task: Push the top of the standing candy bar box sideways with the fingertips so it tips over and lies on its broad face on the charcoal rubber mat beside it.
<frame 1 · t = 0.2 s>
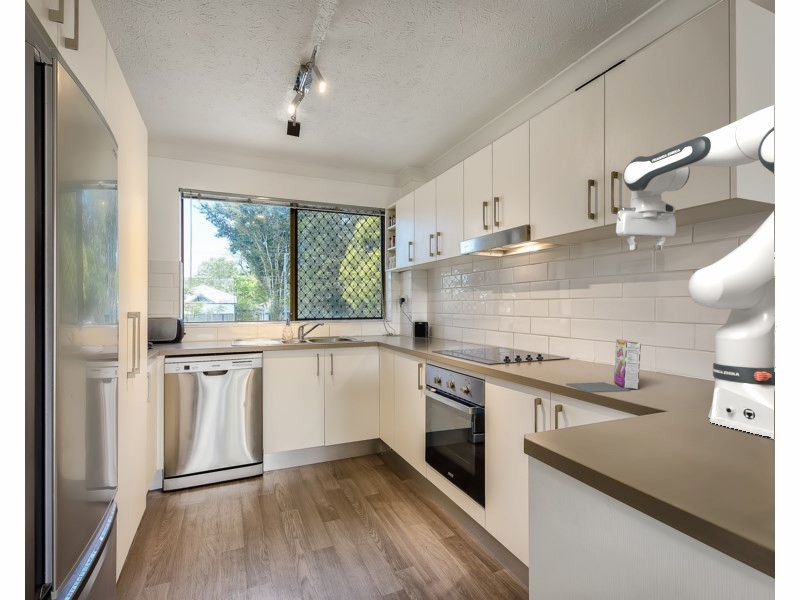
hand: (646, 250, 129), 47 cm above the counter, fingers open, 8 cm apart
candy bar box: (625, 386, 142), on the counter, touching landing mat
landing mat: (596, 387, 141), on the counter
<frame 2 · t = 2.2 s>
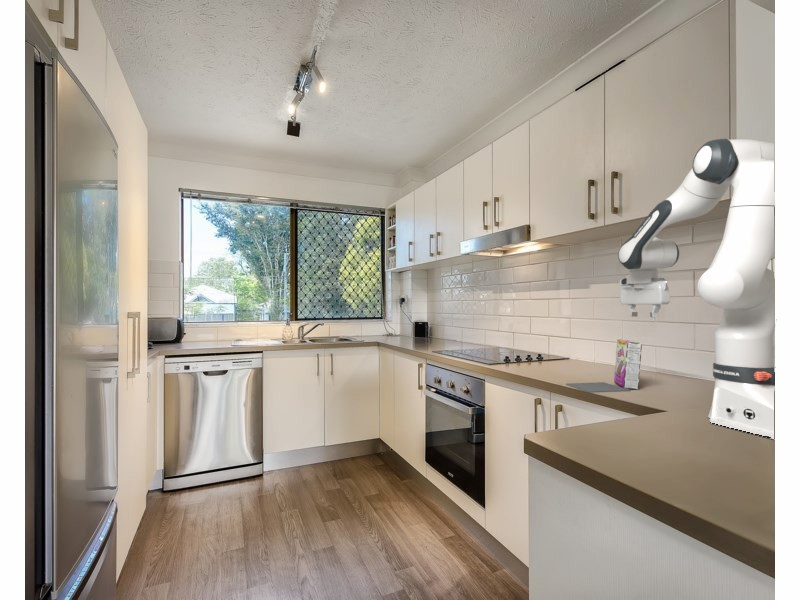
hand: (643, 317, 144), 25 cm above the counter, fingers open, 8 cm apart
nothing on the counter moved.
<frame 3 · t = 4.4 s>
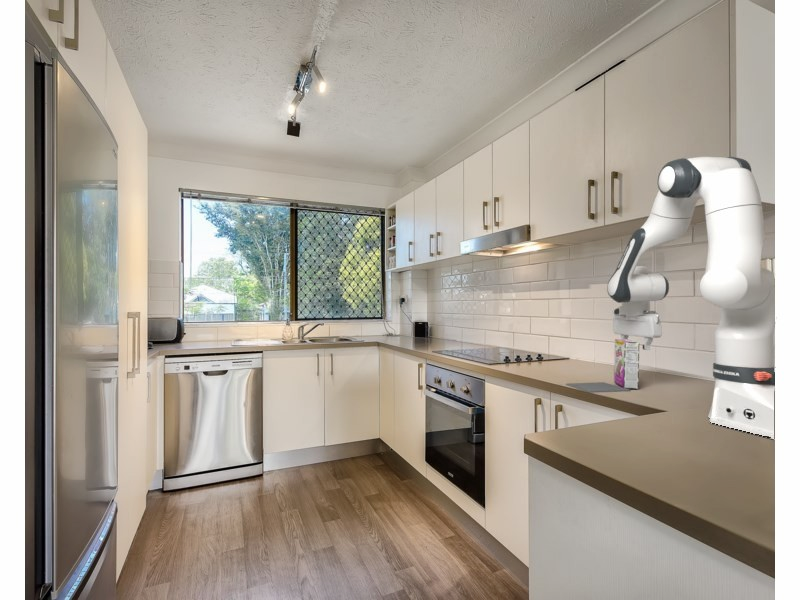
hand: (636, 348, 144), 14 cm above the counter, fingers open, 8 cm apart
candy bar box: (625, 386, 142), on the counter, touching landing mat
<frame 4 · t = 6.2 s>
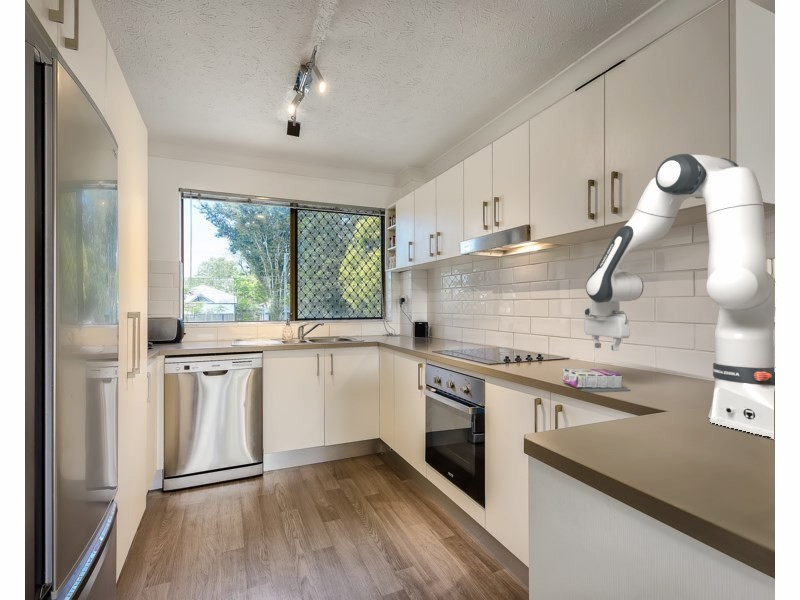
hand: (606, 349, 142), 14 cm above the counter, fingers open, 8 cm apart
candy bar box: (614, 378, 143), point 3 cm above the counter, touching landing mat
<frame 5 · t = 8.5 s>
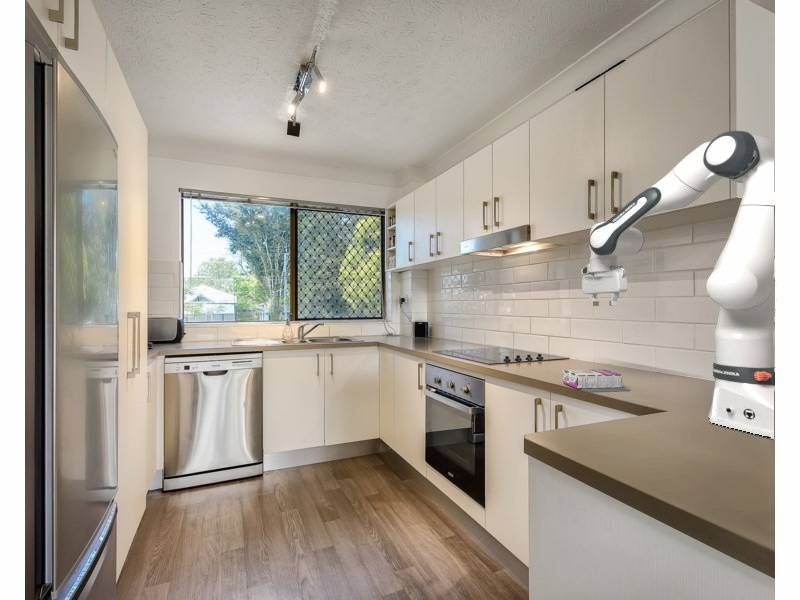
hand: (604, 305, 142), 29 cm above the counter, fingers open, 8 cm apart
nothing on the counter moved.
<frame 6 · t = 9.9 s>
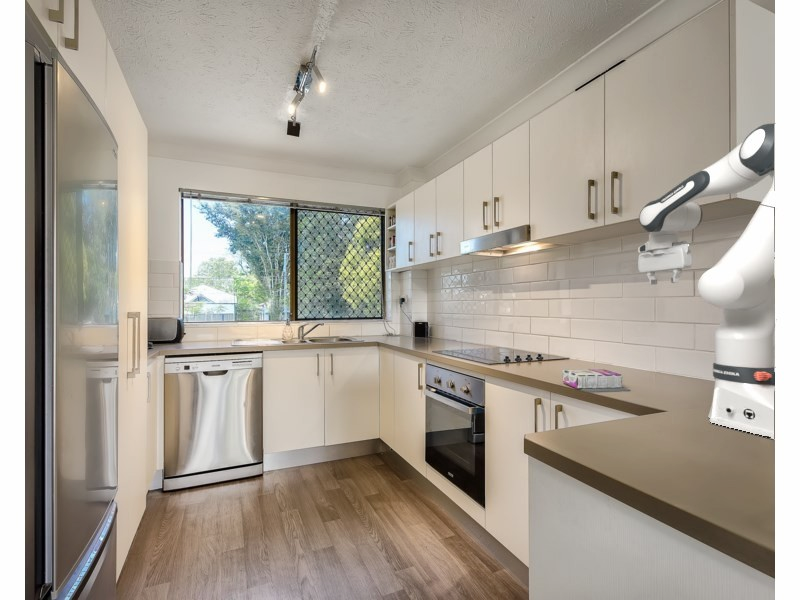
hand: (663, 283, 140), 37 cm above the counter, fingers open, 8 cm apart
nothing on the counter moved.
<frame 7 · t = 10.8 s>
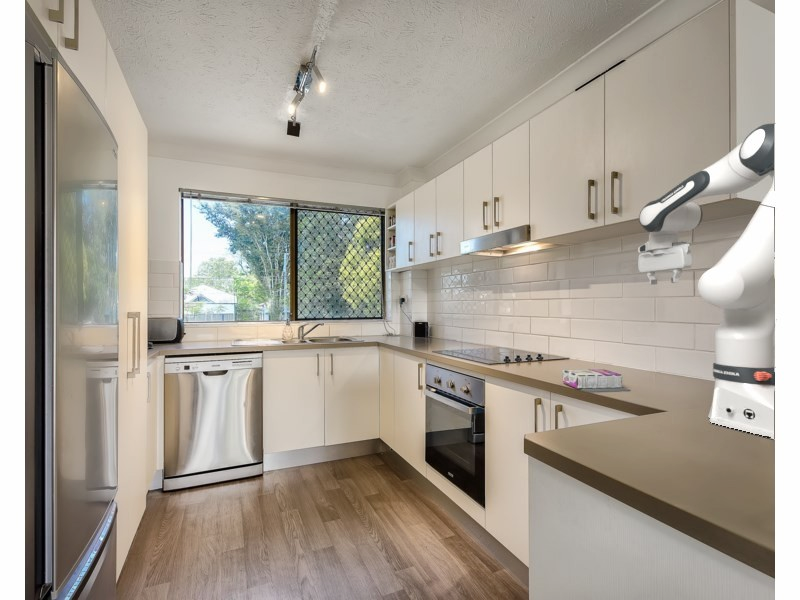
hand: (663, 283, 140), 37 cm above the counter, fingers open, 8 cm apart
nothing on the counter moved.
at the end: candy bar box tilted 89°; candy bar box touching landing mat; the gripper is holding nothing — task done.
